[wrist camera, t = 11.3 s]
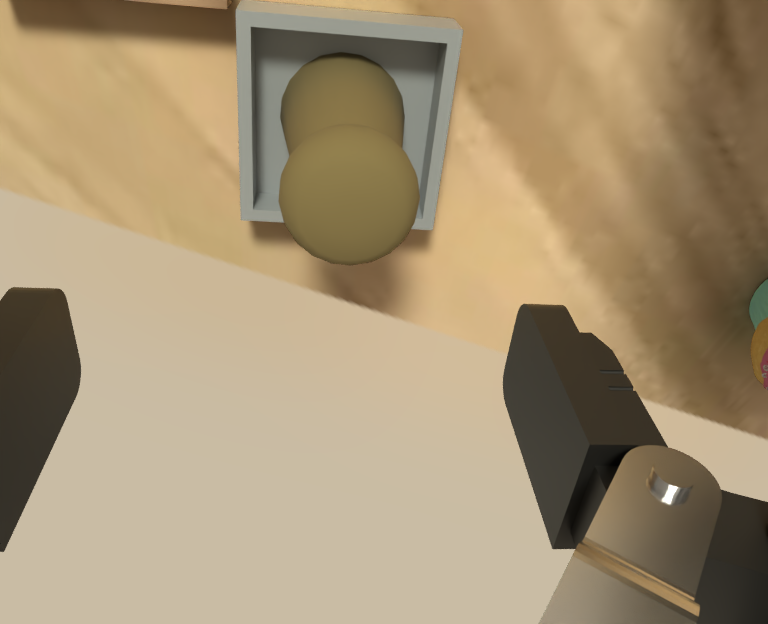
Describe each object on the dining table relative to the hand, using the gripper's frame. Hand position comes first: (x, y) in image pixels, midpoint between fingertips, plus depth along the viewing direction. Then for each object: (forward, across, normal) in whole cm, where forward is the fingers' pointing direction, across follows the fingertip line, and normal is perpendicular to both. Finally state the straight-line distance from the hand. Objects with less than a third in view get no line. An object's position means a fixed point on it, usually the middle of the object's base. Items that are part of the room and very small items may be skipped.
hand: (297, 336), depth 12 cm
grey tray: (+23, -1, +3) cm, 23 cm away
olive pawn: (+22, -1, +3) cm, 23 cm away
